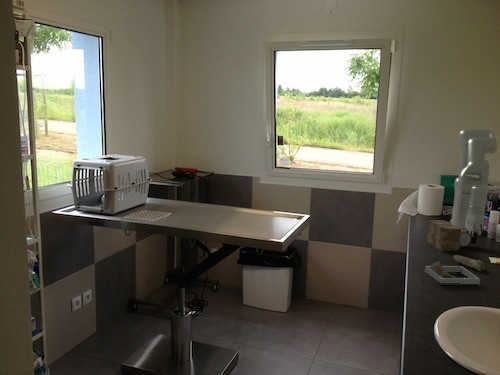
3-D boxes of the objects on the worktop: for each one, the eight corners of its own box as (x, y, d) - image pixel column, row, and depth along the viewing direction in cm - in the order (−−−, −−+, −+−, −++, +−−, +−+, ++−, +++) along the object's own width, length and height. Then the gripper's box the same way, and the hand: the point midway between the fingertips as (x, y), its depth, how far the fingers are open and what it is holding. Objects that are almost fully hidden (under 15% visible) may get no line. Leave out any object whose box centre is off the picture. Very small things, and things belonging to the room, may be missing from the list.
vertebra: (456, 285, 188) (444, 263, 188) (437, 291, 191) (426, 270, 192) (457, 275, 198) (446, 254, 198) (440, 281, 201) (429, 260, 202)
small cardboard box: (426, 240, 249) (428, 220, 246) (449, 240, 250) (452, 220, 248) (441, 251, 232) (443, 229, 230) (466, 251, 233) (469, 229, 231)
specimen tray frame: (424, 272, 202) (425, 265, 201) (460, 272, 203) (461, 266, 202) (440, 285, 187) (441, 278, 187) (479, 285, 189) (480, 278, 188)
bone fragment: (486, 270, 208) (487, 260, 207) (478, 272, 204) (479, 262, 203) (459, 260, 219) (460, 251, 218) (451, 263, 216) (452, 253, 215)
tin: (468, 245, 242) (470, 230, 241) (471, 247, 239) (473, 232, 238) (440, 244, 243) (441, 229, 241) (442, 246, 240) (444, 230, 238)
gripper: (462, 206, 245) (458, 238, 249) (478, 212, 231) (473, 247, 234) (475, 206, 246) (471, 239, 249) (492, 213, 231) (487, 247, 235)
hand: (472, 243), depth 242 cm, fingers closed
